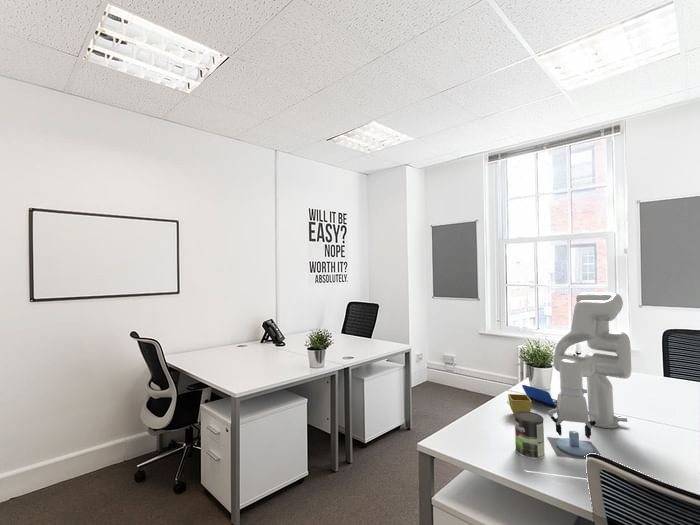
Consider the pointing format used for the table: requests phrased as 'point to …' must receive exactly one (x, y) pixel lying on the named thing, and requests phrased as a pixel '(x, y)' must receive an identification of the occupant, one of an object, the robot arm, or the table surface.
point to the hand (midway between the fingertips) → (573, 435)
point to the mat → (563, 454)
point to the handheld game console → (539, 396)
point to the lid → (574, 445)
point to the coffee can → (529, 434)
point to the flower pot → (519, 403)
